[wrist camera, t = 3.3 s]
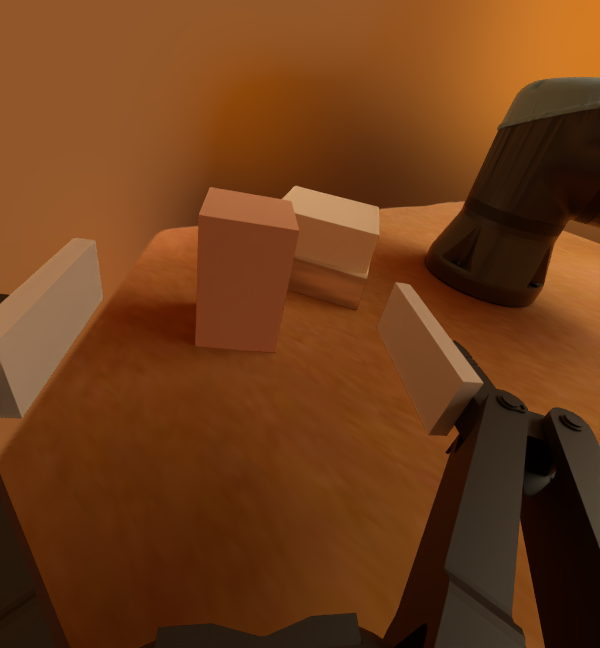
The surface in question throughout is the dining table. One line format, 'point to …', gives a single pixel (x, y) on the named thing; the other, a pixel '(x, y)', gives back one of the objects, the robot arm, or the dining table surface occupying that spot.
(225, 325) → the tall block
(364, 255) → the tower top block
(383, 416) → the dining table surface
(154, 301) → the dining table surface
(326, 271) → the tower base block
